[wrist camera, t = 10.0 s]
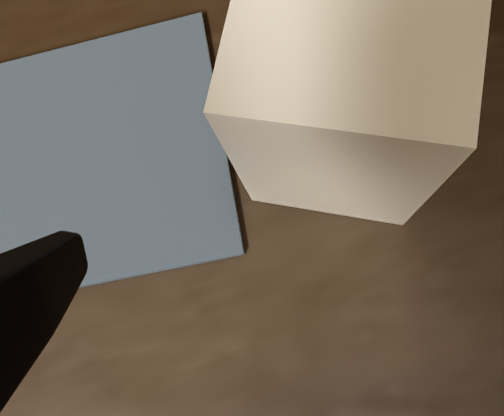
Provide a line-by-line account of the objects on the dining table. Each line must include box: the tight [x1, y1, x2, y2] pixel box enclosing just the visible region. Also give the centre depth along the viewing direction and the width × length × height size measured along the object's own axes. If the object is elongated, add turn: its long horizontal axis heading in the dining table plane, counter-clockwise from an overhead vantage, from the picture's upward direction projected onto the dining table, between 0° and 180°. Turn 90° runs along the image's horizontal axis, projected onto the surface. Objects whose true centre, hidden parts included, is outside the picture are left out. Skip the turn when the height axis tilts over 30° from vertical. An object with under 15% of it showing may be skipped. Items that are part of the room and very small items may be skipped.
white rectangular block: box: [203, 0, 492, 225], centre depth 17 cm, size 7×7×10 cm
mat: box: [0, 12, 245, 288], centre depth 24 cm, size 14×14×1 cm
